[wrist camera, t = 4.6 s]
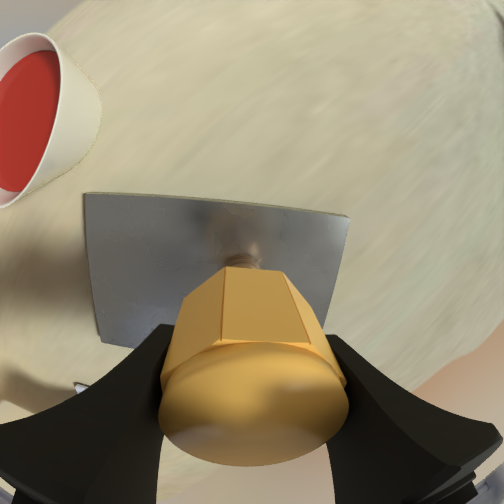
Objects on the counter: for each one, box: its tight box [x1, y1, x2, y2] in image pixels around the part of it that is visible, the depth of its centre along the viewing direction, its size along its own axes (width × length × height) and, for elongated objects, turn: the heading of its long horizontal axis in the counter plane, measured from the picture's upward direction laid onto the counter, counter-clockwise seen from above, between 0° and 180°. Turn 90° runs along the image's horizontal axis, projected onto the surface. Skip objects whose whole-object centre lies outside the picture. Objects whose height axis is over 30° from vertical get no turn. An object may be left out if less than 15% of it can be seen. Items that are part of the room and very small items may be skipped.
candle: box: [0, 33, 102, 209], centre depth 10 cm, size 9×9×6 cm
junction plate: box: [85, 192, 350, 349], centre depth 15 cm, size 11×16×4 cm
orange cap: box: [158, 266, 349, 466], centre depth 8 cm, size 5×5×5 cm
